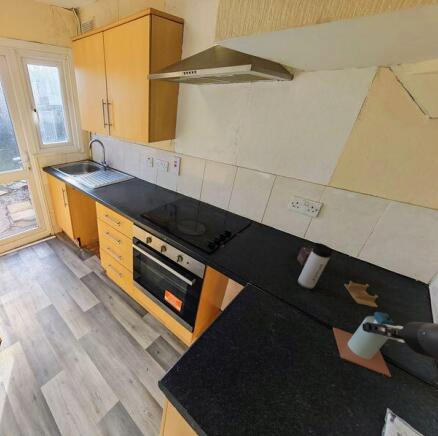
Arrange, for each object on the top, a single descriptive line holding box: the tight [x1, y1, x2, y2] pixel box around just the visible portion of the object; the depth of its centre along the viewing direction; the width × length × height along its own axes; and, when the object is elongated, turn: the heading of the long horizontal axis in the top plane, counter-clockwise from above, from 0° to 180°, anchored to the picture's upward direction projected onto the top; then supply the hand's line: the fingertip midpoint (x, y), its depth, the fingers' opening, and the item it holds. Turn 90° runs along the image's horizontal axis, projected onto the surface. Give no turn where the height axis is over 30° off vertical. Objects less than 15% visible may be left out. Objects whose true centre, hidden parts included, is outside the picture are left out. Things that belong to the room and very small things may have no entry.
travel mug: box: [297, 242, 333, 290], centre depth 96 cm, size 6×7×20 cm
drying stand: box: [343, 280, 379, 308], centre depth 95 cm, size 11×7×4 cm, turn 164°
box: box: [296, 246, 313, 267], centre depth 112 cm, size 6×6×7 cm
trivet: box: [332, 326, 392, 378], centre depth 73 cm, size 12×12×1 cm
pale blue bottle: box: [348, 311, 395, 359], centre depth 69 cm, size 16×6×6 cm
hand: (381, 331), depth 66 cm, fingers open, 8 cm apart
